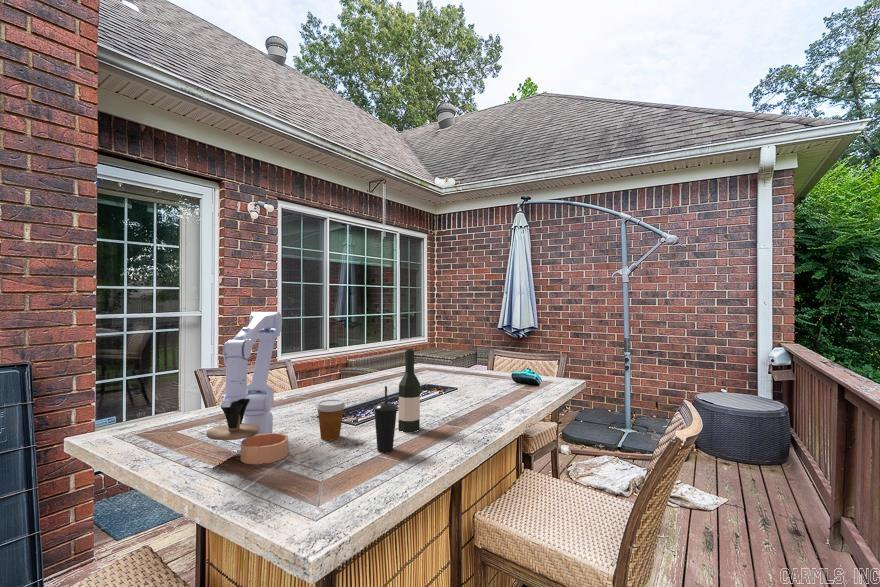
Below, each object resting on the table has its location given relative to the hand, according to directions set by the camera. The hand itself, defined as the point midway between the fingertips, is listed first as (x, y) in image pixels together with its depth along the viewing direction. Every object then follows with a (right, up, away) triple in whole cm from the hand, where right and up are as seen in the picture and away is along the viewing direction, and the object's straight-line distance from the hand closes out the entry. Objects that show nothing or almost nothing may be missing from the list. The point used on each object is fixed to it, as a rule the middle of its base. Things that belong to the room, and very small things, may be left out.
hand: (235, 425), depth 118 cm
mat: (-7, -9, -1) cm, 12 cm away
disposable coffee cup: (+23, -11, +19) cm, 32 cm away
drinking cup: (+44, -10, +7) cm, 45 cm away
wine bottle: (+50, -11, +29) cm, 58 cm away
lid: (0, -2, 0) cm, 2 cm away
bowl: (+9, -10, +1) cm, 13 cm away
